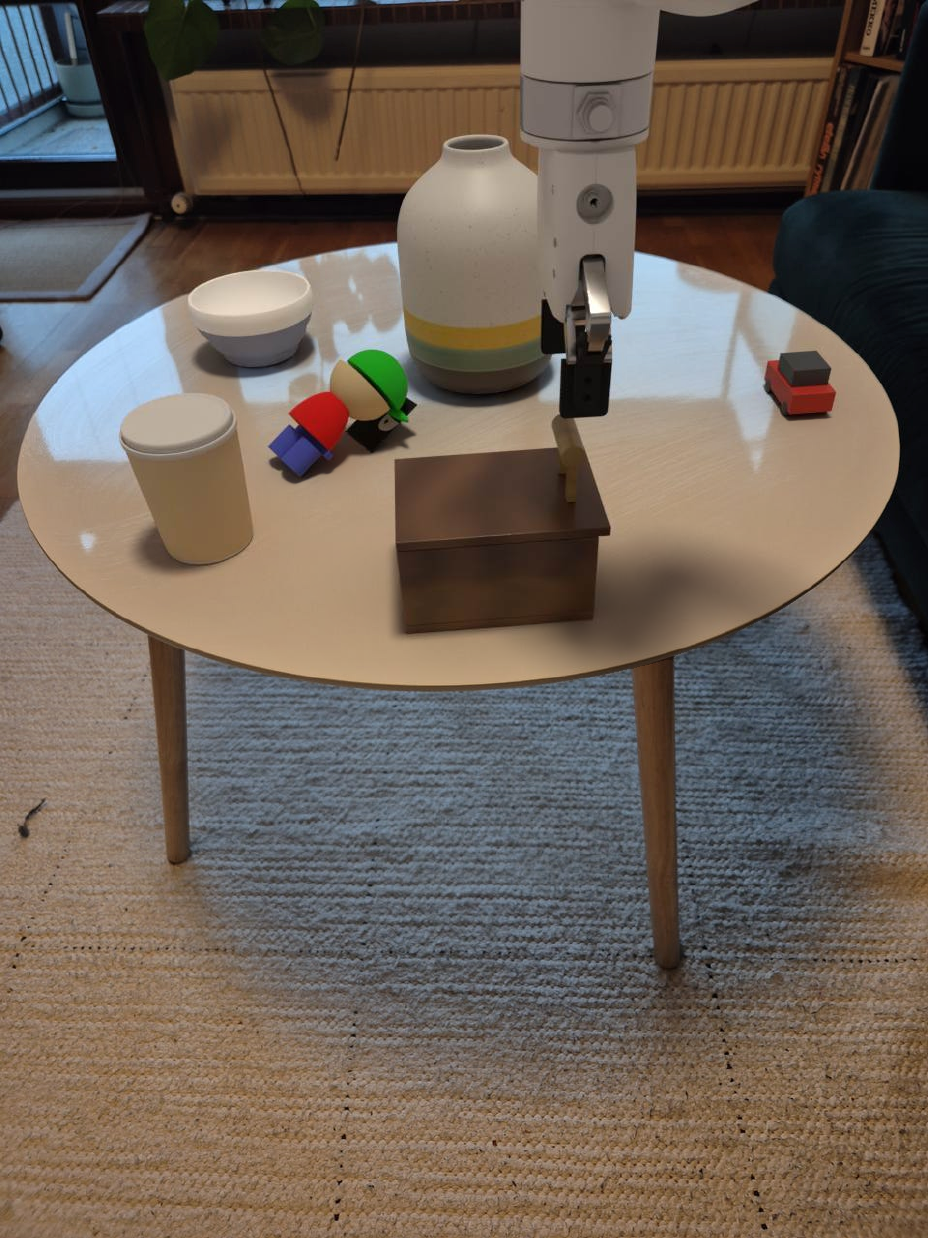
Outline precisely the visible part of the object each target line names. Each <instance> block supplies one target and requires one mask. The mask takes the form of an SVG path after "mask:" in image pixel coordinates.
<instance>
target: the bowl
mask: <svg viewBox="0 0 928 1238" xmlns="http://www.w3.org/2000/svg"><path fill="white" fill-rule="evenodd" d="M310 283H311V282H310V281H309V280H308V279H307V278H306V277H304V276H302V275H300V274H298V273H295V272H293V271H287V270H279V269H276V270H275V269H256V270H245V271H237V272H233V273H229V274H225V275H222V276H221V275H220V276H218V277H215V278H212V279H210V280H207V281H205V282H202V284H199V285H198V286H196V287H195V288H194V289H193V290H192V291H191V292H190V293H189V295H188V297H187V307H188V313H189V316H190V319H191V322H192V324H193V325H194V327H195V328H196V329H197V330H198V332H199V333H200V334H201V336H202V337H203V338H205V339H206V341H208V342H209V345H210V346H211V347H212V348H213V349H215V350H216V351H217V352H218V353H220V354H222V356H223V357H224V358H225V360H226V361H228V362H229V363H230V364H233V365H235V366H239V367H244V368H263V367H270V366H273V365H277V364H280V363H282V362H284V361H287V360H288V359H290V358H291V357H292V356H293V355H295V354H296V353H297V351H298V349H299V343H300V342H301V340H302V339H303V338H304V336H305V334H306V332H307V326H308V324H309V323H310V321H311V318H312V314H313V311H314V305H315V304H314V294H313V290H312V286H311V284H310Z"/></svg>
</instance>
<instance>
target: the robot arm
mask: <svg viewBox="0 0 928 1238" xmlns="http://www.w3.org/2000/svg"><path fill="white" fill-rule="evenodd" d="M758 1H759V0H520V74H519V76H520V77H519V78H520V79H519V84H520V85H519V86H520V87H519V89H520V90H519V99H520V100H519V138H520V140H521V141H522V142H524V143H525V144H528V145H530V146H532V147H535V148H538V153H537V154H538V156H537V176H538V186H537V250H538V268H539V275H540V279H541V282H542V286H543V291H544V297H546V298H547V299H542V300H541V346H540V347H541V351H542V353H543V354H546V355H548V354H552V355H561V354H562V355H563V354H565V357H564V358H560V370H559V371H560V372H559V395H558V396H559V397H558V399H559V401H558V412H559V414H560V416H561V417H562V418H564V419H569V418H574V419H582V418H584V419H585V418H598V417H605V416H606V415H608V414H609V407H610V395H611V381H612V369H613V339H612V337H613V336H612V326H611V325H612V320H613V319H612V317H614V318H618V320H620V321H621V320H626V319H627V318H628V317H629V316H630V315H631V313H632V306H633V290H634V289H633V288H634V270H635V268H634V267H635V250H636V249H635V246H636V227H637V225H636V223H637V155H636V145H638V144H641V143H642V142H644V141H646V140H647V139H648V138H649V136H650V135H649V134H650V123H651V114H652V113H651V111H652V103H653V102H652V100H653V91H654V89H653V88H654V79H655V66H656V56H657V45H658V34H659V25H660V24H659V23H660V13H661V11H663V12H667V13H671V14H675V15H681V16H687V17H688V16H689V17H711V16H717V15H722V14H726V13H729V12H732V11H734V10H737V9H740V8H743V7H746V6H748V5H750V4H753V3H755V2H758Z"/></svg>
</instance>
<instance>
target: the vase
mask: <svg viewBox="0 0 928 1238" xmlns="http://www.w3.org/2000/svg"><path fill="white" fill-rule="evenodd" d="M537 186H538V174H536V173H535V172H534V171H532V170H531V169H529V167H527V166H526V165H524V164H523V163H522V162H520V161H519V160H518V159H517V158H516V157H514V156H513V154H512V152H511V149H510V144H509V140H508V139H507V138H505V137H503V136H500V135H494V134H482V133H481V134H466V135H460V136H456V137H452V138H449V139H447V140H446V141H444V143H443V144H442V152H441V156H440V158H439V159H438V160H437V162H436V163H435V164H434V165H432V166H431V167H430V168H429V169H428V170H427V171H426V172H425V173H423V175H421V177H419V178H418V180H416V181H415V182H414V184H413V185H412V186H411V187H410V189H409V190H408V191H407V193H406V195H405V197H404V198H403V201H402V204H401V207H400V210H399V214H398V219H397V225H396V226H397V227H396V241H397V243H396V245H397V256H398V267H399V280H400V289H401V301H402V312H403V321H404V322H403V323H404V331H405V337H406V338H405V339H406V344H407V348H408V352H409V355H410V357H411V360H412V362H413V364H414V366H415V367H416V369H417V370H418V372H419V373H420V374H421V375H422V377H423V378H424V379H426V380H427V381H428V382H429V383H431V384H433V385H435V386H437V387H440V388H443V389H445V390H448V391H452V392H456V393H462V394H463V393H464V394H472V395H473V394H475V395H476V394H477V395H481V394H482V395H484V394H485V395H486V394H495V393H502V392H507V391H510V390H513V389H517V388H520V387H522V386H524V385H526V384H528V383H531V382H532V381H533V380H535V379H536V378H537V377H539V376H540V375H541V374H542V373H543V372H544V371H545V370H546V368H547V367H548V365H549V363H550V361H551V359H552V356H553V354H548V355H546V354H543V353H542V351H541V347H540V346H541V300H542V299H547V298H546V297H544V291H543V286H542V282H541V279H540V275H539V268H538V250H537Z"/></svg>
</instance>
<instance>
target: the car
mask: <svg viewBox="0 0 928 1238" xmlns="http://www.w3.org/2000/svg"><path fill="white" fill-rule="evenodd" d="M779 354H780V355H779V359H773V360H767V361H766V362H767V363H766V368H765V374H764V379H763V380H764V389H765V392H766V393H773V394H774V395H775V397H776V398H777V400H778V401H779V402H780V404H781V405H780V410H781V414H782V415H783V416H790V415H799V414H800V415H801V414H814V413H821V414H822V413H830V412H832V411H833V407H834V402H835V399H836V396H837V391H836V390H835V389H834V387H833V386H832V385H831V384H830V382H829V381H830V376H831V372H832V366H830V364H829V363H828V362H827V361H826V359H825V358H824V357H823V356H822V355H821V354H820V353H819V351H817V350H805V351H793V352H792V351H791V352H781V353H779Z"/></svg>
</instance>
